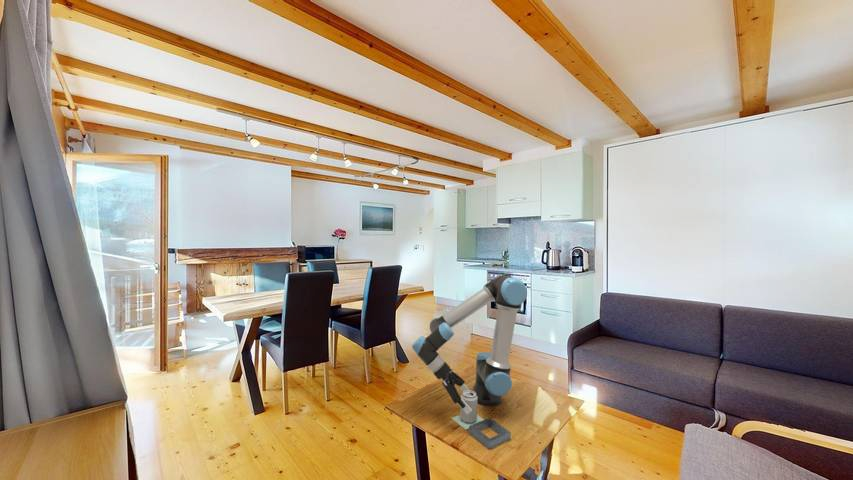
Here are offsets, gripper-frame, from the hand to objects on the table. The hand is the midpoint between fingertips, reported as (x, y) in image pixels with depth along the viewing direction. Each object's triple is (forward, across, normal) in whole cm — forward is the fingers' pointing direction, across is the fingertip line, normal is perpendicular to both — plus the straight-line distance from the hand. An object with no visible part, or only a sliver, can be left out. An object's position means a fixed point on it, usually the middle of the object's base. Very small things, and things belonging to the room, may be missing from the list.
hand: (470, 404), depth 142 cm
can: (+5, 0, -6) cm, 7 cm away
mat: (+5, 0, -6) cm, 8 cm away
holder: (+11, +9, +1) cm, 15 cm away
